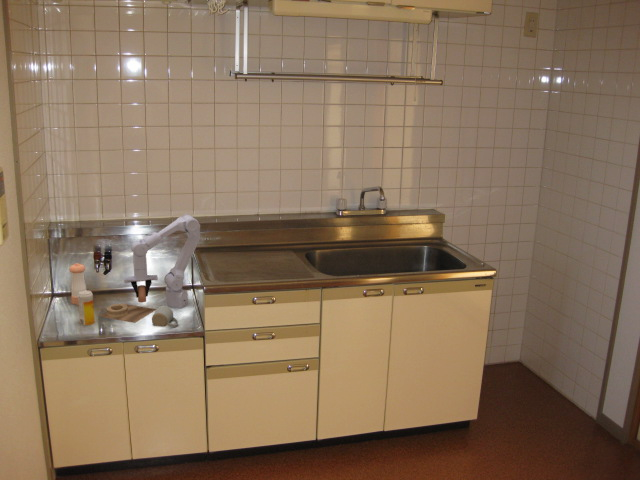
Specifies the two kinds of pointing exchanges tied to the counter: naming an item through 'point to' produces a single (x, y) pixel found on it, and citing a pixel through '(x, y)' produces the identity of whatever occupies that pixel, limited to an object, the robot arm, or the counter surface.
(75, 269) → the salt shaker
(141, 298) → the peg
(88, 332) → the counter surface
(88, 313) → the yellow labeled bottle
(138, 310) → the board
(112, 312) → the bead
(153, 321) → the ceramic mug
